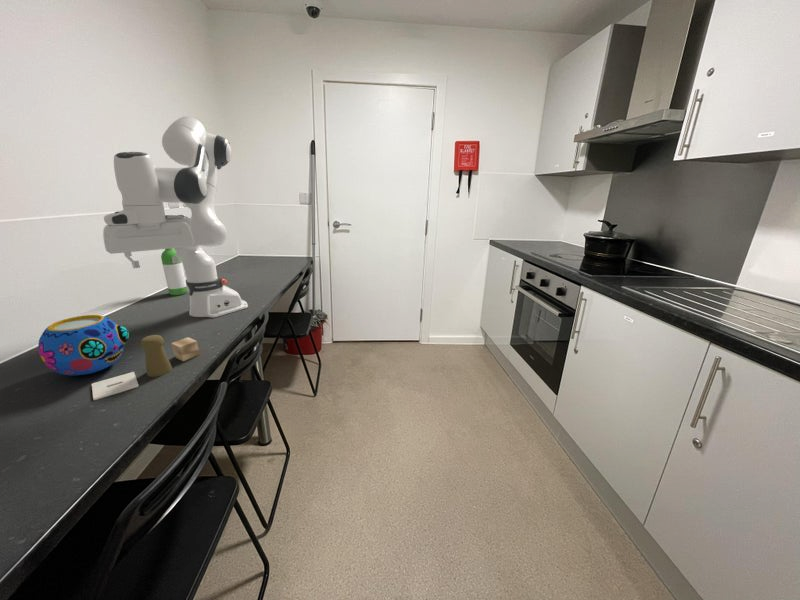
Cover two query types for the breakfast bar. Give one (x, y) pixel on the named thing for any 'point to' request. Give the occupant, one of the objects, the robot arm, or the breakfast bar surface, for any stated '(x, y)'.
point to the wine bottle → (173, 273)
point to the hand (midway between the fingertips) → (157, 265)
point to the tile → (114, 385)
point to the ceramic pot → (82, 344)
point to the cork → (155, 356)
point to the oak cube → (185, 349)
